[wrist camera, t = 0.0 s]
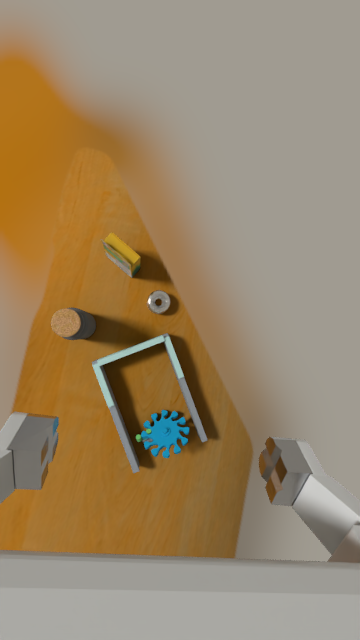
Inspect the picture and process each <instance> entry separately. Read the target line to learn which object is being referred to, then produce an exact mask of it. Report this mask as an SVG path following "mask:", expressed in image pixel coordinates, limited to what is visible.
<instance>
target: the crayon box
mask: <svg viewBox="0 0 360 640" xmlns="http://www.w3.org/2000/svg"><path fill="white" fill-rule="evenodd" d="M101 241H102V244H103V246H104V249H105V252H106V255H107V257H108V258H109V259H110V260H112V261H113V262H114V263H115V264H116V265H117V266H119V267H120V268H121V269H122V270H123V271H124V272H126V273H127V274H128V275H129V276H130V277H131V278H132V277H133V276H134V275H135V274H136V273H137V272H138V271H139V270H140V260H141V257H140V256H139V255H138V254H137V253H136V252H135V251H133V250H132V249H131V248H130V247H129V246H128V245H127V244H125V243H124V242H123V241H122V240H121V239H120V238H118V237H117V236H116V235H115V234H114V233H112V232H111V233H110V234H109V235H108V237H107V238H106V239H105V240H104V241H103V240H101Z"/></svg>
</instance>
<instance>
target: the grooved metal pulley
mask: <svg viewBox="0 0 360 640" xmlns="http://www.w3.org/2000/svg"><path fill="white" fill-rule="evenodd" d="M157 299H159V300H161V302H162V304H161V305H160V306H157V305H156V304H155V301H156V300H157ZM147 306H148V308H149V310H150V311H151V312H153V313H155V314H162V313H164V312H165V311H167V310H168V308H169V306H170V297H169V296H168V294H167V293H166V292H164V291H161V290H157V291H154V292H152V293H151V294H150V295H149V297H148V299H147Z"/></svg>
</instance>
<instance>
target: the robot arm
mask: <svg viewBox="0 0 360 640" xmlns="http://www.w3.org/2000/svg"><path fill="white" fill-rule="evenodd" d="M57 427H58V417H56V416H48V415H39V414H31V413H20V412H14V413H13V414H11V415H10V417H9V419H8V420H7V422H6V423H5V425H4V427H3V428H2V430H1V431H0V503H1V502H3V501H4V500H5V499H6V498H7V497H8V496H9V495H10V494H11V493H12V492H13V491H14V489H34V490H41V489H42V486H43V484H44V481H45V479H46V476H47V473H48V464H49V463H50V462H51V461H52V460H53V458H54V455H55V451H56V447H57V442H58V433H57V432H56V429H57ZM265 445H266V449H265V450H263V451H262V452H261V454H260V457H259V469H260V473H261V476H262V477H263V479H265V481H266V482H267V484H266V487H265V488H266V491H267V494H268V497H269V500H270V502H271V504H274V505H284V506H292V508H293V509H294V510H295V512H296V513H297V514H298V515H299V516H300V518H301V519H302V520H303V521H304V522H305V524H306V525H307V526H308V527H309V528H310V530H311V531H312V532H313V533H314V534H315V535H316V537H317V538H318V539H319V540H320V542H321V543H322V544H323V545H324V546H325V547H326V549H327V550H328V551H329V552H330V553H331V555H332V556H331V557H330V559H329V560H328V561H327V562H320V561H318V562H317V561H291V560H261V559H235V558H208V557H180V556H153V555H125V554H98V553H70V552H43V551H15V550H0V640H360V500H359V499H357V498H356V497H355V496H354V495H353V494H352V493H350V492H349V491H348V490H347V489H345V488H344V487H343V486H342V485H341V484H340V483H338V482H337V481H336V480H335V479H333V478H332V477H331V476H327V475H326V474H325V472H324V470H323V468H322V466H321V465H320V463H319V461H318V460H317V458H316V456H315V454H314V452H313V451H312V449H311V447H310V445H309V443H308V442H307V441H306V440H301V439H289V438H277V437H269V438H268V439H267V440H266V443H265Z"/></svg>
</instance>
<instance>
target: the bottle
mask: <svg viewBox="0 0 360 640" xmlns="http://www.w3.org/2000/svg"><path fill="white" fill-rule="evenodd" d="M51 326H52V329H53V331H54V332H55V333H56V334H57V335H59V336H61V337H63V338H65V339H69V340H77V339H85V338H88V337H90V336H91V335H92V334H93V333H94V331H95V329H96V321H95V319H94V317H93V316H92V315H91V314H89V313H87V312H85V311H83V310H80V309H77V308H67V309H61V310H59V311H57V312H56V313H55V314H54V315H53V317H52V319H51Z"/></svg>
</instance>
